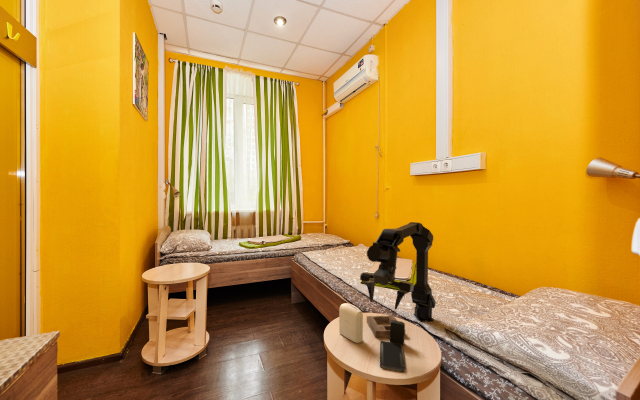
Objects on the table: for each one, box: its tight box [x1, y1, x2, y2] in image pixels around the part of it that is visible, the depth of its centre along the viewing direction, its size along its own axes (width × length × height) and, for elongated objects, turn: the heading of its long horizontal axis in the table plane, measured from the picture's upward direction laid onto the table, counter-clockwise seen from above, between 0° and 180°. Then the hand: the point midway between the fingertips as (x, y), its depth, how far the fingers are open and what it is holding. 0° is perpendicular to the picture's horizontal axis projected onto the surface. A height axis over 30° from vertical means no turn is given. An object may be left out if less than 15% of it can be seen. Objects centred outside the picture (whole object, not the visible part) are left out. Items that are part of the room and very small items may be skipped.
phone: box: [379, 340, 406, 373], centre depth 86 cm, size 8×1×15 cm
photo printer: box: [338, 302, 364, 344], centre depth 98 cm, size 10×4×12 cm, turn 39°
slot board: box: [365, 314, 406, 339], centre depth 104 cm, size 12×12×2 cm
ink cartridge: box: [389, 319, 406, 347], centre depth 94 cm, size 5×2×8 cm, turn 66°
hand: (383, 305), depth 93 cm, fingers open, 9 cm apart
